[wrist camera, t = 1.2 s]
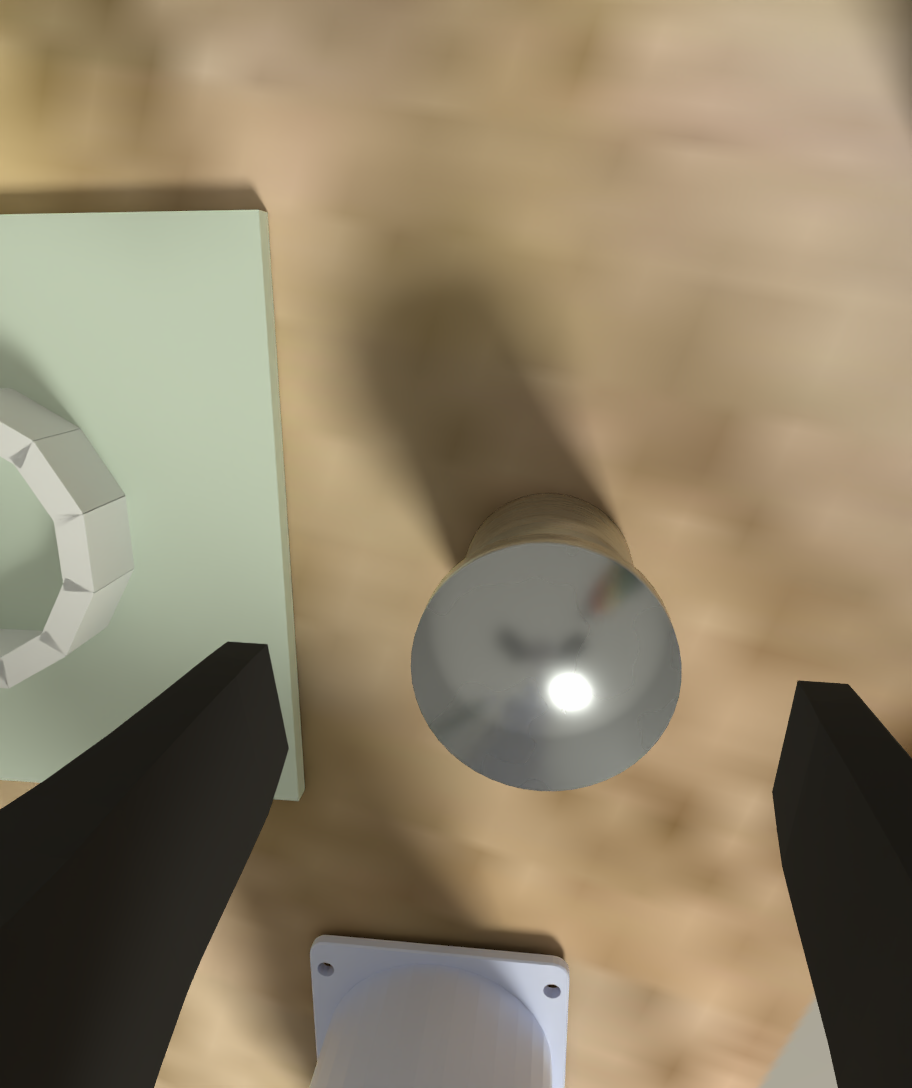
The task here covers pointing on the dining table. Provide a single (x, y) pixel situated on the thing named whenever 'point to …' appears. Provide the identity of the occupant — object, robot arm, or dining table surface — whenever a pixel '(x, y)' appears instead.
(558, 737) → the silver canister
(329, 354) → the dining table surface
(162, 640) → the duct flange
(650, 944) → the dining table surface
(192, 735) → the robot arm
